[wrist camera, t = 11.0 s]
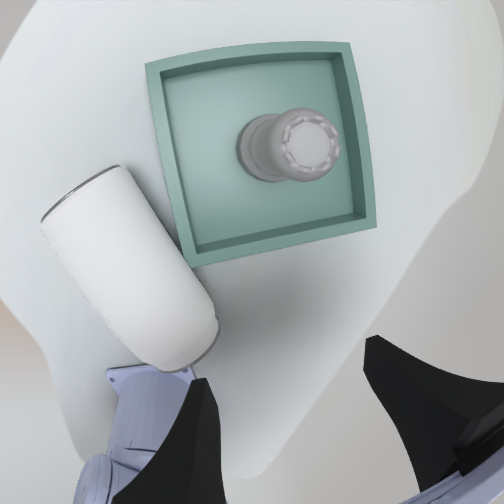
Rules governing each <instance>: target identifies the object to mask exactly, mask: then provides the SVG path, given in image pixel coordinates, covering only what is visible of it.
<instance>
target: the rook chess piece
mask: <svg viewBox="0 0 504 504" xmlns="http://www.w3.org/2000/svg"><path fill="white" fill-rule="evenodd" d="M338 135H340V134H339V132H338V131H337V129H336V127H335V125H334V124H332V123H331V121H330V120H329V119H328V118H326V117H325V116H324V115H323V114H321V113H320V112H319V111H315V110H312V109H309V108H306V107H304V108H293V109H290V110H288V111H286V112H284V113H282V114H281V115H279V114H267V115H261V116H258V117H256V118H255V119H253V120H251V121H250V122H248V123H247V124H246V125H245V126H244V128H243V129H242V131H241V132H240V133H239V136H238V141H237V145H236V150H237V155H238V160H239V162H240V164H241V165H242V167H243V168H244V170H245V171H246V172H247V173H248V174H250V175H251V176H253V177H254V178H256V179H257V180H261V181H266V182H270V183H271V182H273V183H275V182H280V181H286V180H288V179H291V180H295V181H299V182H303V183H304V182H310V181H316V180H318V179H320V178H322V177H323V176H325V175H326V174H328V173H329V172H330V170H331V169H332V168H333V166H334V165H335V163H336V162H337V158H339V156H340V152H341V147H340V146H339V139H338Z"/></svg>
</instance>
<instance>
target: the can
mask: <svg viewBox="0 0 504 504" xmlns="http://www.w3.org/2000/svg"><path fill="white" fill-rule="evenodd" d="M41 223H42V225H41V228H40V230H41V232H42V234H43V236H44V238H45V239H46V241H47V243H48V244H49V246H50V247H51V249H52V250H53V252H54V254H55V255H56V257H57V258H58V260H59V261H60V263H61V264H62V266H63V267H64V269H65V270H66V271H67V273H68V274H69V276H70V277H71V278H72V280H73V281H74V283H75V284H76V285H77V287H78V288H79V289H80V291H81V292H82V293H83V295H84V296H85V297H86V299H87V300H88V301H89V303H90V304H91V305H92V306H93V308H94V309H95V310H96V311H97V313H98V314H99V315H100V316H101V317H102V319H103V320H104V321H105V322H106V323H107V325H108V326H109V327H110V328H111V329H112V331H113V332H114V333H115V334H116V335H117V336H118V337H119V338H120V340H121V341H122V342H123V343H124V344H125V345H126V346H127V347H128V348H129V349H130V350H131V352H132V353H133V354H134V355H135V356H136V357H137V358H139V359H140V360H141V361H143V362H145V363H147V364H150V365H153V366H155V368H156V369H157V370H158V371H159V372H162V373H165V374H172V373H177V372H180V371H183V370H185V369H187V368H189V367H191V366H193V365H194V364H196V363H197V362H198V361H200V360H201V359H202V358H203V357H204V356H205V355H206V354H207V353H208V352H209V351H210V350H211V349H212V347H213V346H214V344H215V343H216V341H217V339H218V337H219V334H220V330H221V324H220V321H219V319H218V318H217V317H216V316H215V310H214V305H213V302H212V300H211V298H210V296H209V295H208V293H207V292H206V290H205V289H204V287H203V286H202V284H201V283H200V281H199V280H198V279H197V277H196V276H195V274H194V273H193V271H192V270H191V268H190V267H189V265H188V264H187V262H186V261H185V259H184V258H183V256H182V255H181V253H180V252H179V250H178V248H177V247H176V245H175V244H174V242H173V241H172V239H171V238H170V236H169V235H168V233H167V232H166V230H165V228H164V227H163V225H162V224H161V222H160V221H159V219H158V217H157V216H156V214H155V213H154V211H153V209H152V208H151V206H150V205H149V203H148V201H147V200H146V198H145V197H144V195H143V193H142V192H141V190H140V188H139V187H138V185H137V183H136V182H135V180H134V179H133V177H132V175H131V174H130V172H129V171H128V169H127V168H126V167H120V165H114V166H111V167H109V168H107V169H105V170H103V171H101V172H99V173H98V174H96V175H94V176H92V177H91V178H89V179H88V180H86V181H85V182H83V183H82V184H80V185H79V186H77V187H76V188H75V189H73V190H72V191H70V192H69V193H68V194H67V195H65V196H64V197H63V198H62V199H60V200H59V201H58V202H57V203H56V204H55V205H54V206H53V207H52V208H51V209H50V210H49V211H48V212H47V213H46V214H45V215H44V216H43V217H42V219H41Z"/></svg>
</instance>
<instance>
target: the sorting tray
mask: <svg viewBox="0 0 504 504" xmlns="http://www.w3.org/2000/svg"><path fill="white" fill-rule="evenodd" d="M145 70H146V77H147V84H148V90H149V97H150V103H151V109H152V115H153V120H154V126H155V131H156V137H157V142H158V147H159V152H160V157H161V162H162V167H163V172H164V176H165V181H166V186H167V190H168V195H169V199H170V203H171V208H172V212H173V216H174V220H175V224H176V228H177V232H178V236H179V240H180V244H181V248H182V252H183V256H184V259H185V261H186V262H187V264H188V265H189V267H190V268H195V267H199V266H204V265H208V264H213V263H217V262H222V261H227V260H231V259H236V258H240V257H245V256H249V255H254V254H259V253H263V252H268V251H272V250H277V249H281V248H286V247H290V246H295V245H299V244H304V243H308V242H313V241H318V240H322V239H327V238H331V237H336V236H340V235H345V234H349V233H354V232H358V231H363V230H367V229H372V228H376V227H377V223H376V206H375V192H374V181H373V171H372V161H371V153H370V145H369V138H368V131H367V125H366V118H365V112H364V107H363V101H362V96H361V91H360V86H359V81H358V76H357V72H356V67H355V63H354V59H353V55H352V51H351V47H350V43H346V42H323V41H294V42H271V43H257V44H246V45H237V46H229V47H222V48H215V49H209V50H203V51H198V52H192V53H187V54H182V55H178V56H173V57H169V58H165V59H161V60H157V61H153V62H149V63H146V64H145ZM304 107H306V108H309V109H312V110H315V111H319V112H320V113H321V114H323V115H324V116H325V117H326V118H328V119H329V120H330V121H331V123H332V124H334V125H335V127H336V129H337V131H338V132H339V134H340V135H338V139H339V146H340V147H341V152H340V156H339V158H337V162H336V163H335V165H334V166H333V168H332V169H331V170H330V172H329V173H328V174H326V175H325V176H323V177H322V178H320V179H318V180H316V181H310V182H304V183H303V182H299V181H295V180H291V179H288V180H286V181H280V182H275V183H273V182H271V183H270V182H266V181H261V180H257V179H256V178H254V177H253V176H251V175H250V174H248V173H247V172H246V171H245V170H244V168H243V167H242V165H241V164H240V162H239V160H238V155H237V150H236V145H237V141H238V136H239V133H240V132H241V131H242V129H243V128H244V126H245V125H246V124H247V123H248V122H250V121H251V120H253V119H255V118H256V117H258V116H261V115H267V114H279V115H281V114H282V113H284V112H286V111H288V110H290V109H293V108H304Z"/></svg>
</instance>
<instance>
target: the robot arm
mask: <svg viewBox="0 0 504 504" xmlns="http://www.w3.org/2000/svg"><path fill="white" fill-rule="evenodd" d="M365 344H366V345H365V356H364V367H363V371H364V373H365V375H366V377H367V379H368V381H369V384H370V386H371V387H372V389H373V391H374V393H375V394H376V396H377V397H378V399H379V400H380V402H381V403H382V405H383V407H384V408H385V409H386V411H387V413H388V414H389V416H390V417H391V419H392V420H393V422H394V424H395V426H396V428H397V430H398V432H399V434H400V436H401V438H402V441H403V443H404V446H405V448H406V450H407V453H408V455H409V458H410V461H411V463H412V466H413V469H414V472H415V475H416V479H417V482H418V485H419V489H420V494H418V495H416V496H414V497H412V498H410V499H408V500H406V501H404V502H402V503H400V504H431V503H432V502H434V501H435V502H434V503H432V504H489V503H491V502H492V501H493V500H494V499H495V498H497V497H498V496H499V495H500V494H501V493H502V492H503V491H504V383H498V382H487V381H480V380H475V379H470V378H466V377H462V376H458V375H455V374H452V373H449V372H446V371H444V370H441V369H438V368H436V367H434V366H432V365H429V364H427V363H425V362H423V361H421V360H419V359H418V358H415V357H414V356H412V355H410V354H408V353H407V352H405V351H403V350H402V349H400V348H398V347H397V346H395V345H393V344H392V343H390V342H389V341H387V340H385V339H384V338H382V337H380V336H379V335H375V336H372V337H369V338H367V339H366V343H365ZM105 375H106V377H107V379H108V381H109V383H110V384H111V386H112V387H113V389H114V391H115V392H116V394H117V396H118V397H119V400H118V404H117V408H116V412H115V416H114V420H113V424H112V429H111V433H110V437H109V442H108V447H107V451H106V455H104V454H102V453H99V454H97V455H96V456H92V457H90V458H89V459H88V460H87V462H86V464H85V466H84V468H83V470H82V472H81V475H80V478H79V480H78V484H77V487H76V491H75V496H74V501H73V504H228V502H227V501H226V499H225V493H224V487H223V481H222V473H221V430H220V419H219V411H218V406H217V403H216V401H215V398H214V396H213V394H212V391H211V389H210V386H209V384H208V381H207V379H206V378H201V379H196V378H195V376H194V374H193V371H192V369H191V367H189V368H187V370H183V371H180V372H177V373H172V374H165V373H162V372H159V371H158V370H157V369H156V368H155V366H153V365H150V364H149V365H142V366H134V367H126V368H118V369H109V370H107V371H106V373H105ZM112 378H114V379H112ZM436 500H437V501H436Z"/></svg>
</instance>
